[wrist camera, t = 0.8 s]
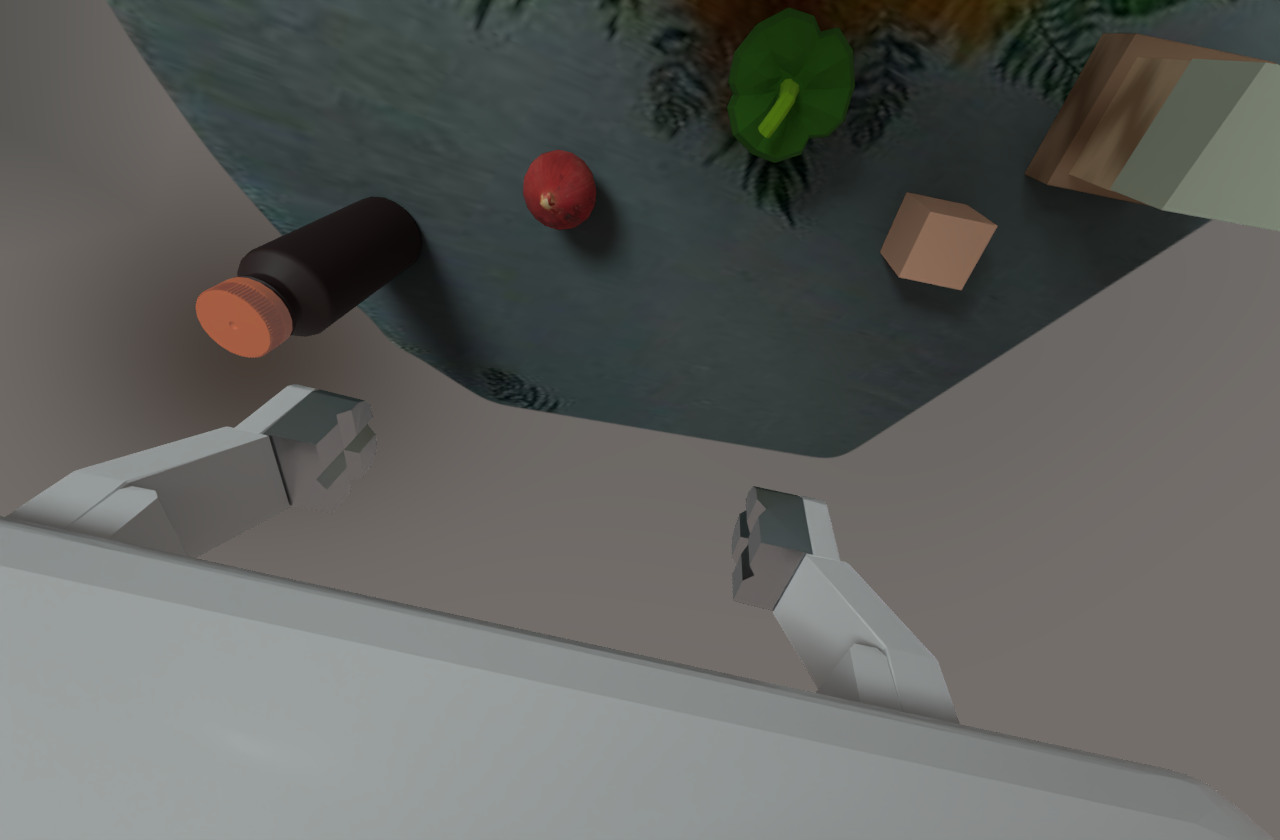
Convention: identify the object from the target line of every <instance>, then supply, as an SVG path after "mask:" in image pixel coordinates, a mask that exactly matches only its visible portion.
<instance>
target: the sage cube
mask: <svg viewBox="0 0 1280 840" xmlns="http://www.w3.org/2000/svg"><path fill="white" fill-rule="evenodd" d="M1110 190H1113V191H1115V192H1118V193H1120V194H1123V195H1125V196H1128V197H1130V198H1133V199H1135V200H1137V201H1140V202H1142V203H1145V204H1147V205H1150V206H1152V207H1155V208H1157V209H1160V210H1164V211H1169V212H1175V213H1180V214H1186V215H1191V216H1197V217H1203V218H1208V219H1214V220H1220V221H1225V222H1230V223H1237V224H1242V225H1247V226H1253V227H1259V228H1264V229H1269V230H1275V231H1280V65H1277V64H1271V63H1265V62H1247V61H1228V60H1209V59H1192V60H1191V62H1190V64H1189V65H1188V67H1187V68H1186V70H1185V71H1184V73H1183V75H1182V76H1181V78H1180V79H1179V81H1178V82H1177V84H1176V86H1175V87H1174V89H1173V90H1172V92H1171V93H1170V95H1169V97H1168V98H1167V100H1166V101H1165V103H1164V104H1163V106H1162V108H1161V109H1160V111H1159V112H1158V114H1157V115H1156V117H1155V119H1154V120H1153V122H1152V123H1151V125H1150V126H1149V128H1148V130H1147V131H1146V133H1145V134H1144V136H1143V137H1142V139H1141V141H1140V142H1139V144H1138V145H1137V147H1136V148H1135V150H1134V152H1133V153H1132V155H1131V156H1130V158H1129V159H1128V161H1127V163H1126V164H1125V166H1124V167H1123V169H1122V170H1121V172H1120V174H1119V175H1118V177H1117V178H1116V180H1115V181H1114V183H1113V185H1112V186H1111V188H1110Z"/></svg>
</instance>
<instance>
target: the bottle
mask: <svg viewBox="0 0 1280 840" xmlns="http://www.w3.org/2000/svg"><path fill="white" fill-rule="evenodd" d="M420 250H421V238H420V233H419V230H418V228H417V226H416V224H415V222H414V220H413V218H412V217H411V216H410V215H409V214H408V212H407V211H406V210H405V209H403V208H402V207H401V206H399V205H398V204H397V203H395V202H393V201H391V200H388V199H386V198H381V197H369V198H365V199H362V200H360V201H358V202H355V203H353V204H351V205H349V206H347V207H345V208H342V209H340V210H338V211H336V212H334V213H332V214H329V215H327V216H325V217H323V218H321V219H318V220H316V221H314V222H312V223H310V224H308V225H305V226H303V227H301V228H299V229H297V230H295V231H292V232H290V233H288V234H286V235H284V236H281V237H279V238H277V239H275V240H273V241H271V242H269V243H266V244H264V245H262V246H260V247H258V248H255V249H253V250H251V251H250V252H249V253H248V254H247V255H246V256H245V257H244V258H243V259H242V260H241V262H240V265H239V268H238V273H237V275H238V276H237V277H234V278H232V279H228V280H226V281H224V282H222V283H220V284H218V285H216V286H214V287H212V288H210V289H208V290H206V291H204V292H202V294H200V296H199V298H198V300H197V302H196V304H197V305H196V311H197V317H198V319H199V321H200V323H201V325H202V327H203V328H204V330H205V331H206V332H207V333H208V335H209V336H210V337H211V338H212V339H213V340H214V341H216V342H217V343H218V344H219V345H220V346H222V347H223V348H225V349H227V350H228V351H230V352H232V353H234V354H237V355H240V356H244V357H250V358H251V357H252V358H254V357H255V358H257V357H262V356H264V355H266V354H267V353H269V352H270V351H271V350H273V349H274V348H276V347H277V346H279V345H280V344H281V343H283V342H284V341H285V340H286V339H287V338H289V337H290V336H291V335H295V336H311V335H315V334H319V333H321V332H322V331H323V330H325V329H326V328H327V327H329V326H330V325H331V324H333V323H334V322H335V321H337V320H338V319H339V318H341V317H342V316H344V315H345V314H346V313H348V312H349V311H350V310H352V309H353V308H354V307H356V306H357V305H358V304H360V303H361V302H362V301H364V300H365V299H366V298H368V297H369V296H370V295H372V294H373V293H374V292H376V291H377V290H378V289H380V288H381V287H382V286H384V285H385V284H386V283H388V282H389V281H390V280H392V279H393V278H394V277H396V276H397V275H398V274H400V273H401V272H403V271H404V270H405V269H407V268H408V267H409V266H410V265H412V264H413V263H414V262H415V261H416V260H417V258H418V256H419V254H420Z"/></svg>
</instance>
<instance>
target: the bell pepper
mask: <svg viewBox="0 0 1280 840" xmlns="http://www.w3.org/2000/svg"><path fill="white" fill-rule="evenodd" d="M728 83H729V85H730V88H731V90H732V93H733V95H732V97H731V99H730V101H729V103H728V106H727V110H728V114H729V119H730V124H731V129H732V134H733V136H734V137H735V138H736V139H737V140H738V141H739V142H740V143H741V144H742V145H743V146H744V147H745V148H746V149H747V150H748V151H749V152H750V153H751V154H753V155H756V156H758V157H761V158H763V159H766V160H768V161H771V162H773V163H776V162H779V161H782V160H785V159H788V158H792V157H795V156H798V155H801V154H802V152H803V150H804V148H805V146H806V144H807V142H808V140H809V138H819V137H828V136H829V135H830V134H831V133H832V132H833V131H834V130H836V129H837V128H838V127H839V126H840V125H841V124H842V123H843V122H844V120H845V117H846V114H847V110H848V107H849V104H850V100H851V97H852V94H853V91H854V87H855V77H854V59H853V50H852V48H851V46H850V45H849V43H848V41H847V40H846V38H845V36H844V35H843V33H842V31H841V30H840V28H839V27H838V28H833V29H829V30H825V31H820V28H819V26H818V23H817V21H816V19H815V16H813V15H810V14H807V13H804V12H801V11H798V10H795V9H792V8H789V7H788V8H786V9H784V10H783V11H781V12H779V13H777V14H775V15H773V16H771V17H769V18H767V19H765V20H763V21H762V22H760V23H758V24H757V25H756V26H755V27H754V28H753V30H752V31H751V32H750V33H749V35H748V36H747V37H746V38H745V40H744V41H743V42H742V43H741V45H740V46H739V47H738V49H737V50H736V51H735V52H734V56H733V61H732V66H731V70H730V75H729V80H728Z"/></svg>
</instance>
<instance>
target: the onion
mask: <svg viewBox="0 0 1280 840" xmlns="http://www.w3.org/2000/svg"><path fill="white" fill-rule="evenodd" d="M523 195H524V198H525V201H526V205H527V208H528V209H529V210H530V212H531V213H532V215H533V216H534V217H535V219H537V220H538V221H539V222H541V223H542V224H544V225H545V226H548V227H551V228H554V229H558V230H563V229H570V228H574V227H576V226H578V225H579V224H581V223H582V222H583V221H585V220H586V219H588V218H589V216H590V214H591V212H592V210H593V208H594V206H595V203H596V186H595V182H594V178H593V175H592V172H591V171H590V169H589V168H588V166H587V165H586V163H585V162H584V161H583V160H582V159H580V158H579V157H577V156H576V155H575V154H573V153H571V152H566V151H562V150H555V151H551V152H547V153H544V154H541V155H540V156H539V157H538V158H537V159H535V160H534V161H533V162H532V163H531V165H530V167H529V169H528V171H527V173H526V175H525V177H524V188H523Z"/></svg>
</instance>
